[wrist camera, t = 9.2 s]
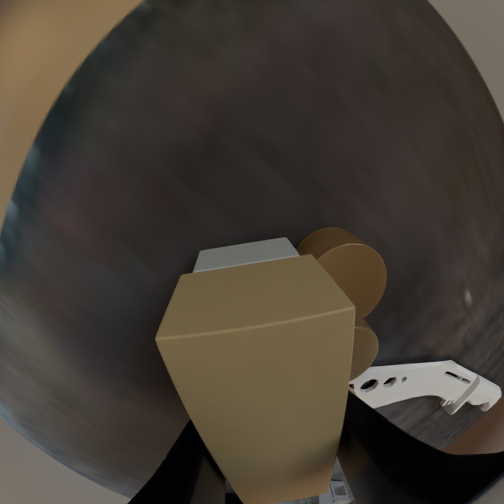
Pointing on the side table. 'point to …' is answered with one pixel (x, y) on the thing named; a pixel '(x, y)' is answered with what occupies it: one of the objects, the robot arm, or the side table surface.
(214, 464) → the robot arm
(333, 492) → the garden wall model
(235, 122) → the side table surface
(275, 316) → the oblong tan box
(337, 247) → the crumb
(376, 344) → the short tan cylinder
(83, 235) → the side table surface
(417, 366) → the knife
